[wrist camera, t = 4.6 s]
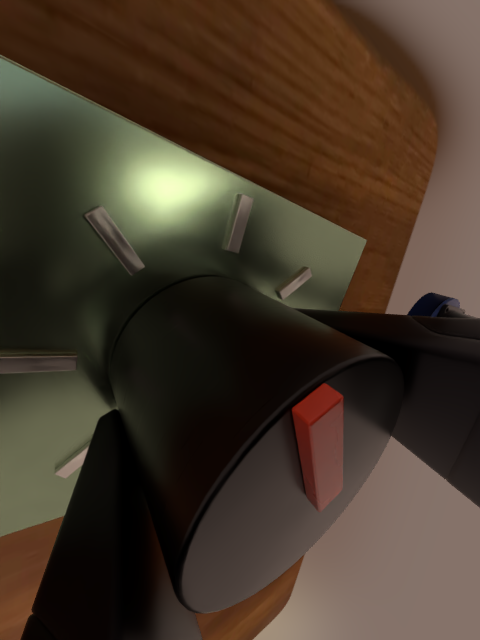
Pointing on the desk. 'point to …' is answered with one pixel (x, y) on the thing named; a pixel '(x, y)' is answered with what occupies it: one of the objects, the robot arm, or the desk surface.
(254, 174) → the desk surface
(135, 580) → the robot arm
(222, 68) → the desk surface
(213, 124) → the desk surface
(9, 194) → the dial panel
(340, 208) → the desk surface
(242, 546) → the pointer wheel
